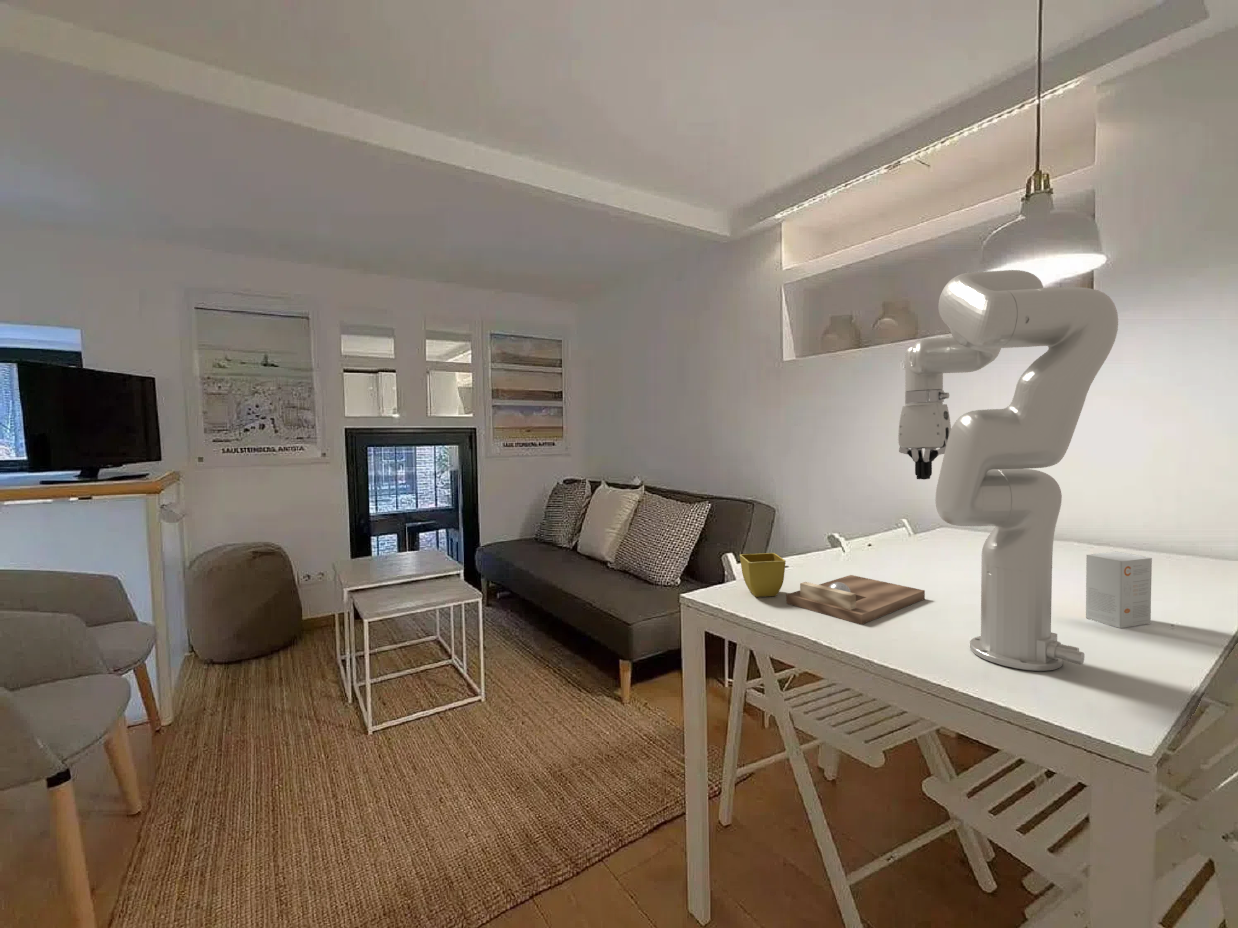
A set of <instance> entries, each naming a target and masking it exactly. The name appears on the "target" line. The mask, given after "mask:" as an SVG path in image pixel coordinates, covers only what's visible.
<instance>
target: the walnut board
mask: <svg viewBox="0 0 1238 928" xmlns="http://www.w3.org/2000/svg"><path fill="white" fill-rule="evenodd" d="M835 582H841V583H844V584H845V585H847V586H848V587H849V589H850V591H851V592H846V591H842V590H838V589H834V588H830V587H829V586H830V585H831V584H832V583H835ZM799 586H800V587H799V590H797V591H793V592H789V593H788V594H787V593H786V594H785V597H786V598H785V599H786V600H785V603H786V604H789V605H791V606H795V607H798V608H802V609H805V610H808V611H813V612H816V613H819V614H823V615H826V616H830V617H833V618H837V619H839V620H844V621H847V622H850V623H854V624H857V625H865V624H867V623H870V622H872V621H875V620H876V619H879V618H881V617H884V616H887V615H889V614H892V613H894V612H896V611H899V610H901V609H904V608H907V607H909V606H911V605H913V604H916V603H918V602H921V601H923V600H925V598H926V593H925V592H926V590H925V589H920V588H914V587H911V586H905V585H900V584H896V583H890V582H886V581H881V580H877V579H873V578H872V579H871V578H867V577H863V576H859V575H854V574H849V575H846V576H843V577H840V578H835V579H833V580H830V581H827V582H823V583H820V584H816V583H813V582H808V581H804V582H800V584H799Z"/></svg>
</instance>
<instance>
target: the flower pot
mask: <svg viewBox="0 0 1238 928" xmlns="http://www.w3.org/2000/svg"><path fill="white" fill-rule="evenodd" d="M739 559H740V560H739V561H740V567H741V574H742V578H743V581H744V583H745V584H746V587H747V589H748V590H749V592H750V593H751V594H752V595H753V596H754V597H756V598H761V597H776V596H778V594H779V592H780V591H781V589H782V587H783V584H784V579H785V571H786V562H787V561H786V560H785V559H784V558H782V557H781V556H779V555H778V554H776V553H775V552H767V553H765V552H763V553H742V554H739Z"/></svg>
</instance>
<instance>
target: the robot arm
mask: <svg viewBox="0 0 1238 928" xmlns="http://www.w3.org/2000/svg"><path fill="white" fill-rule="evenodd" d="M937 306H938V312H939V313H938V314H939V317H940V319H941V320H942V321H943V323H944V324H945V325H947V327H948V328H949V331H950V335H951V336H952V337H935V338H925V339H921V340H917V342H916V343H915V344H914V345H912V346H909V347H908V348H907V349H906V351H905V362H904V363H905V365H904V366H905V367H904V368H905V369H904V370H905V373H904V375H905V376H904V379H905V381H904V382H905V385H904V386H905V387H904V389H905V392H904V394H905V397H904V399H905V400H904V403H905V405H904V406H902V408H901V410H900V416H899V421H898V422H899V423H898V437H897V438H898V439H897V440H898V442H897V443H898V445H899V449H898V452H899V454H903V455H908V456H909V457H910V458H911V459H912V461H913V462H914V474H915V476H916V480H930V479H931V476H932V474H933V472H932V470H933V462H934V461H935V459H936V458H937V457H938V456H941V455H943V458H942V462H941V467H940V471H939V475H938V479H937V485H936V489H935V499H934V500H935V508H936V512H937V513H938V516H939V517H940V519H942V520H943V522H945V523H947V524H949V525H951V526H957V527H958V526H959V527H994V528H993V529H992V531H991V532H990V534H988V536H987V537H986V539H985V541H984V544H983V546H982V550H981V570H980V571H981V572H980V573H981V576H980V577H981V578H980V579H981V581H980V582H981V583H980V585H981V587H980V588H981V589H980V590H981V591H980V636H975V637H973V638H972V639H970V640H969V641H970V642H969V648H970V651H972V652H973V653H974V654H975V655H976V656H978V657H979V658H980V659H983V660H986V661H987V662H991V663H994V664H997V665H1000V666H1004V667H1007V668H1008V667H1009V668H1013V669H1018V670H1024V671H1035V672H1037V671H1039V672H1044V671H1053V670H1057V669H1059V668H1061V667H1062V666H1063V663H1064V661H1067V662H1068V663H1073V664H1077V665H1084V663H1085V662H1084V661H1085V653H1084V652H1082V651H1080V648H1079V647H1076V646H1073V645H1069V644H1068V645H1066V644H1062V643H1061V642H1060V641H1058V633H1056V632H1052V594H1053V593H1052V591H1053V589H1052V585H1053V580H1052V579H1053V553H1054V552H1053V551H1054V538H1055V532H1056V527H1057V526H1056V525H1057V522H1058V518H1059V515H1060V512H1061V511H1060V510H1061V506H1062V500H1063V499H1062V498H1063V497H1062V495H1063V494H1062V490H1061V489H1062V488H1061V487H1060V484H1059V483H1058V482H1057V481H1056V479H1055V478H1054V477H1053V476H1051V475H1050V474H1048V473H1046V472H1043V471H1041V470H1037V469H1039V468H1040V469H1041V468H1042V469H1043V468H1049V467H1052V466H1055V465H1058V463H1060V462H1061V461H1062V460H1063V458H1064V457H1065V455H1066V453H1067V451H1068V449H1069V446H1070V444H1071V442H1072V439H1073V436H1074V433H1075V430H1076V428H1077V424H1078V422H1079V419H1080V416H1081V413H1082V410H1083V407H1084V405H1085V402H1086V400H1087V399H1086V398H1087V395H1088V393H1089V390H1090V387H1091V385H1092V383H1093V382H1094V380H1095V378H1096V376H1097V375H1098V373H1099V371H1100V370H1101V368H1102V366H1103V365H1104V363H1105V361H1106V360H1107V358H1108V356H1109V355H1110V353H1111V351H1112V348H1113V346H1114V344H1115V342H1116V338H1117V334H1118V330H1119V315H1118V311H1117V308H1116V305H1115V302H1114V301H1113V300H1112V298H1111V297H1110V296H1109V294H1106V293H1105V292H1103V291H1100V290H1099V289H1095V288H1089V287H1083V286H1082V287H1079V286H1058V287H1057V286H1056V287H1044V285H1043V282H1042V281H1041V279H1040V278H1039V277H1038V276H1037V275H1036V274H1033V273H1031V272H1029V271H1026V270H1019V269H1018V270H1017V269H1015V270H1014V269H1011V270H1010V269H1007V270H991V271H990V270H989V271H988V270H987V271H973V272H966V273H965V272H964V273H961V274H958V275H956V276H955V277H952V278H951V279H950V280H949V281H948V282H947V283H946V285H945V286H944V287H943V289H942V291H941V293H940V295H939V300H938V305H937ZM1033 347H1048V350H1047V351H1045V352H1044V353H1043V354H1042V355H1040V356H1039V357H1038V358H1036V359H1035V360H1034V361H1033V362H1032V363H1031V364H1030V365H1029V366H1028V367H1027V368H1026V369H1025V371H1023V373H1022V374H1021V375H1020V377H1019V378H1018V381H1017V383H1016V387H1015V390H1014V393H1013V397H1012V400H1011V402H1010V404H1008V406H1007V407H1005V408H996V409H995V408H991V409H989V408H988V409H977V410H971V411H968V412H966V413H963V414H962V415H961V416H959V417H958V418H957V419H956V421H955V422H953V424H952V425H951V417H950V412H949V407H948V404H947V403H946V404H944V402H945V401H944V400H948V399H949V398H950V392H945V391H944V374H957V373H958V374H959V373H961V374H963V373H964V374H965V373H972V372H976V371H979V370H981V369H983V368H985V367H986V366H988V365H989V364H991V363H993V361H995V360H996V359H997V357H998V356H999V354H1000V353H1001V350H1002V349H1011V348H1033ZM923 449H924V451H923ZM923 452H924V453H923Z"/></svg>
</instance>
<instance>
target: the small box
mask: <svg viewBox="0 0 1238 928" xmlns="http://www.w3.org/2000/svg"><path fill="white" fill-rule="evenodd" d="M1152 561H1153V558H1152V557H1149V556H1143V555H1139V554H1132V553H1127V552H1122V551H1109V552H1108V551H1107V552H1100V553H1099V552H1098V553H1090V554H1086V567H1085V568H1086V569H1085V570H1086V571H1085V573H1086V575H1085V577H1086V578H1085V579H1086V580H1085V581H1086V583H1085V584H1086V585H1085V587H1086V588H1085V589H1086V590H1085V618H1086V620H1087V619H1088V620H1090V619H1092V620H1091V621H1093V620H1094V622H1097V621H1098V623H1100V622H1101V624H1104V625H1107V624H1109V625H1108V626H1110V625H1112V626H1111V627H1114V626H1115V627H1114V628H1117V627H1118V629H1125V628H1131V627H1137V626H1143V625H1150V624H1152V622H1151V620H1152V619H1151V618H1152V614H1151V613H1152V570H1153V567H1152V566H1153V565H1152V563H1153V562H1152Z"/></svg>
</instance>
